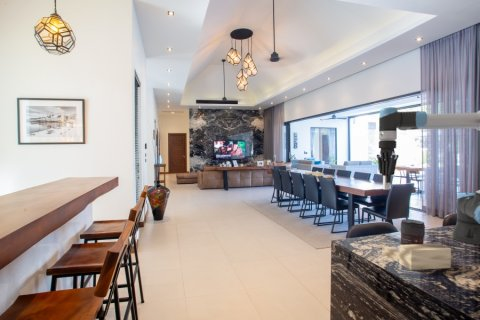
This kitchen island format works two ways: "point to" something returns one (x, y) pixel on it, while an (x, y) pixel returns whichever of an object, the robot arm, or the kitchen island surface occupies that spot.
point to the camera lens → (412, 232)
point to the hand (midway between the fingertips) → (386, 189)
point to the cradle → (421, 256)
